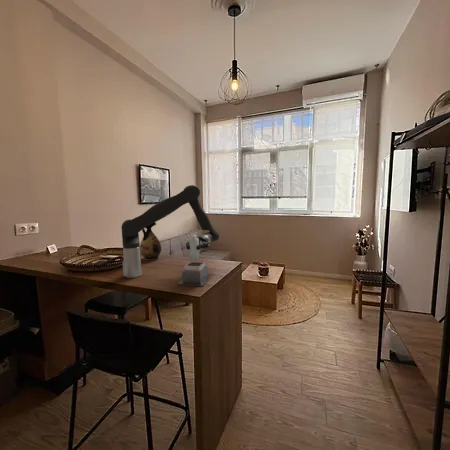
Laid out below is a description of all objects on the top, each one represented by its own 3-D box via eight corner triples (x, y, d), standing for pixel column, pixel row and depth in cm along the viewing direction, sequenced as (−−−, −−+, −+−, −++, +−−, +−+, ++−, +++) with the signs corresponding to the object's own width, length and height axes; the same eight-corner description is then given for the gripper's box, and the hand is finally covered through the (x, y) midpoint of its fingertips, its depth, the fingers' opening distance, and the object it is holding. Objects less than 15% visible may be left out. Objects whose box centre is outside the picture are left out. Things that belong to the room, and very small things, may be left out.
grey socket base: (177, 285, 131) (176, 267, 129) (189, 275, 146) (188, 259, 145) (202, 286, 127) (202, 269, 126) (211, 276, 143) (211, 260, 142)
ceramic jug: (154, 255, 197) (152, 217, 193) (166, 258, 186) (163, 218, 183) (134, 260, 184) (131, 219, 180) (145, 263, 174) (142, 220, 170)
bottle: (188, 259, 133) (187, 235, 132) (192, 257, 138) (191, 234, 137) (197, 260, 132) (196, 236, 130) (200, 257, 137) (199, 234, 135)
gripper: (191, 235, 149) (179, 240, 133) (214, 235, 146) (205, 241, 130) (191, 247, 150) (180, 254, 134) (214, 248, 147) (205, 255, 130)
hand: (192, 247), depth 132 cm, fingers closed on bottle, 5 cm apart
